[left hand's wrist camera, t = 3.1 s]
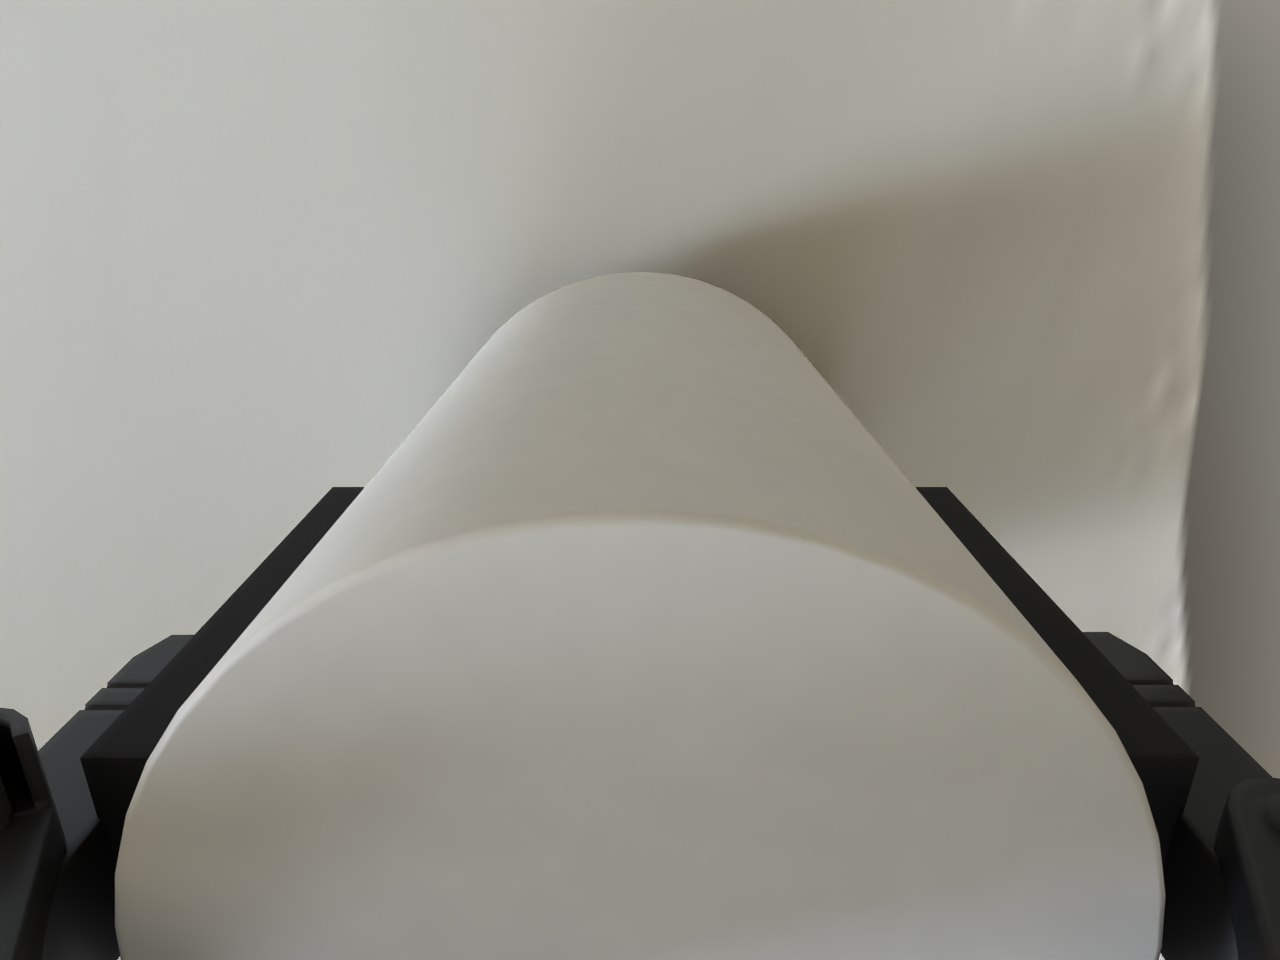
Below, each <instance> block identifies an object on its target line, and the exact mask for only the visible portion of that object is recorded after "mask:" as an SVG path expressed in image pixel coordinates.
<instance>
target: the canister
mask: <svg viewBox="0 0 1280 960" xmlns="http://www.w3.org/2000/svg"><path fill="white" fill-rule="evenodd" d="M1165 896H1166V895H1165V886H1164V877H1163V868H1162V859H1161V850H1160V842H1159V836H1158V833H1157V829H1156V826H1155V823H1154V820H1153V816H1152V813H1151V810H1150V807H1149V803H1148V800H1147V797H1146V793H1145V790H1144V787H1143V784H1142V781H1141V779H1140V777H1139V776H1138V774H1137V772H1136V770H1135V768H1134V766H1133V764H1132V762H1131V760H1130V758H1129V756H1128V754H1127V752H1126V750H1125V748H1124V746H1123V745H1122V743H1121V741H1120V739H1119V737H1118V735H1117V733H1116V731H1115V730H1114V728H1113V727H1112V726H1111V724H1110V723H1109V722H1108V720H1107V719H1106V718H1105V716H1104V715H1103V714H1102V712H1101V711H1100V710H1099V708H1098V707H1097V706H1096V705H1095V703H1094V702H1093V701H1092V699H1091V698H1090V697H1089V695H1088V694H1087V693H1086V691H1085V690H1084V689H1083V687H1082V686H1081V685H1080V683H1079V682H1078V681H1077V680H1076V678H1075V677H1074V676H1073V675H1072V674H1071V672H1070V671H1069V670H1068V669H1067V668H1066V667H1065V665H1064V664H1063V663H1062V662H1061V661H1060V659H1059V658H1058V657H1057V656H1056V655H1055V653H1054V652H1053V651H1052V650H1051V649H1050V647H1049V646H1048V645H1047V644H1046V643H1045V641H1044V640H1043V639H1042V638H1041V637H1040V636H1039V634H1038V633H1037V632H1036V631H1035V630H1034V628H1033V627H1032V626H1031V625H1030V624H1029V622H1028V621H1027V620H1026V619H1025V618H1024V616H1023V615H1022V614H1021V613H1020V612H1019V611H1018V609H1017V608H1016V607H1015V606H1014V605H1013V603H1012V602H1011V601H1010V600H1009V599H1008V597H1007V596H1006V595H1005V594H1004V593H1003V591H1002V590H1001V589H1000V588H999V587H998V585H997V584H996V583H995V582H994V581H993V580H992V578H991V577H990V576H989V575H988V574H987V572H986V571H985V570H984V569H983V568H982V566H981V565H980V564H979V563H978V562H977V560H976V559H975V558H974V557H973V556H972V555H971V553H970V552H969V551H968V550H967V549H966V547H965V546H964V545H963V544H962V543H961V541H960V540H959V539H958V538H957V537H956V535H955V534H954V533H953V532H952V531H951V529H950V528H949V527H948V526H947V525H946V524H945V522H944V521H943V520H942V519H941V518H940V516H939V515H938V514H937V513H936V512H935V510H934V509H933V508H932V507H931V506H930V504H929V503H928V502H927V501H926V500H925V499H924V497H923V496H922V495H921V494H920V493H919V491H918V490H917V489H916V488H915V487H914V485H913V484H912V483H911V482H910V481H909V479H908V478H907V477H906V476H905V475H904V473H903V472H902V471H901V470H900V469H899V468H898V466H897V465H896V464H895V463H894V462H893V460H892V459H891V458H890V457H889V456H888V454H887V453H886V452H885V451H884V450H883V448H882V447H881V446H880V445H879V444H878V442H877V441H876V440H875V439H874V438H873V437H872V435H871V434H870V433H869V432H868V431H867V429H866V428H865V427H864V426H863V425H862V423H861V422H860V421H859V420H858V419H857V417H856V416H855V415H854V414H853V413H852V412H851V410H850V409H849V408H848V407H847V406H846V404H845V403H844V402H843V401H842V400H841V398H840V397H839V396H838V395H837V394H836V392H835V391H834V390H833V389H832V388H831V386H830V385H829V384H828V383H827V382H826V381H825V379H824V378H823V377H822V376H821V375H820V373H819V372H818V371H817V370H816V369H815V367H814V366H813V365H812V364H811V363H810V361H809V360H808V359H807V358H806V357H805V356H804V354H803V353H802V352H801V351H800V350H799V348H798V347H797V346H796V345H795V344H794V342H793V341H792V340H791V339H790V338H789V337H788V336H787V335H786V334H785V333H784V332H783V331H782V330H781V329H780V328H779V327H778V326H777V325H776V324H775V323H774V322H773V321H772V320H771V319H770V318H769V317H767V316H766V315H765V314H763V313H762V312H761V311H759V310H758V309H756V308H755V307H754V306H752V305H751V304H750V303H748V302H746V301H745V300H743V299H741V298H739V297H737V296H735V295H734V294H732V293H730V292H728V291H726V290H724V289H721V288H719V287H716V286H713V285H711V284H708V283H706V282H703V281H700V280H696V279H692V278H688V277H683V276H679V275H675V274H667V273H657V272H646V271H644V272H619V273H612V274H607V275H601V276H595V277H590V278H587V279H584V280H581V281H578V282H574V283H571V284H568V285H565V286H563V287H561V288H559V289H556V290H554V291H552V292H550V293H548V294H546V295H544V296H542V297H540V298H538V299H537V300H535V301H534V302H532V303H531V304H529V305H528V306H526V307H525V308H523V309H521V310H520V311H518V312H517V313H516V314H515V315H514V316H513V317H511V318H510V319H509V320H508V321H507V322H506V323H505V324H503V325H502V326H501V327H500V328H499V329H498V330H497V331H496V332H495V333H494V334H493V336H492V337H491V338H490V339H489V340H488V341H487V342H486V344H485V345H484V346H483V347H482V348H481V349H480V351H479V352H478V353H477V354H476V355H475V357H474V358H473V359H472V360H471V361H470V363H469V364H468V365H467V366H466V367H465V368H464V370H463V371H462V372H461V373H460V374H459V376H458V377H457V378H456V379H455V380H454V382H453V383H452V384H451V385H450V386H449V388H448V389H447V390H446V391H445V392H444V394H443V395H442V396H441V397H440V398H439V400H438V401H437V402H436V403H435V404H434V405H433V407H432V408H431V409H430V410H429V411H428V413H427V414H426V415H425V416H424V417H423V419H422V420H421V421H420V422H419V423H418V425H417V426H416V427H415V428H414V429H413V431H412V432H411V433H410V434H409V435H408V436H407V438H406V439H405V440H404V441H403V442H402V444H401V445H400V446H399V447H398V448H397V450H396V451H395V452H394V453H393V454H392V456H391V457H390V458H389V459H388V460H387V462H386V463H385V464H384V465H383V466H382V467H381V469H380V470H379V471H378V472H377V473H376V475H375V476H374V477H373V478H372V479H371V481H370V482H369V483H368V484H367V485H366V487H365V488H364V489H363V490H362V491H361V493H360V494H359V495H358V496H357V497H356V498H355V500H354V501H353V502H352V503H351V504H350V506H349V507H348V508H347V509H346V510H345V512H344V513H343V514H342V515H341V516H340V518H339V519H338V520H337V521H336V522H335V524H334V525H333V526H332V527H331V528H330V529H329V531H328V532H327V533H326V534H325V535H324V537H323V538H322V539H321V540H320V541H319V543H318V544H317V545H316V546H315V547H314V549H313V550H312V551H311V552H310V553H309V555H308V556H307V557H306V558H305V559H304V560H303V562H302V563H301V564H300V565H299V566H298V568H297V569H296V570H295V571H294V572H293V574H292V575H291V576H290V577H289V578H288V580H287V581H286V582H285V583H284V584H283V586H282V587H281V588H280V589H279V590H278V591H277V593H276V594H275V595H274V596H273V597H272V599H271V600H270V601H269V602H268V603H267V605H266V606H265V607H264V608H263V609H262V611H261V612H260V613H259V614H258V615H257V617H256V618H255V619H254V620H253V621H252V622H251V624H250V625H249V626H248V627H247V628H246V630H245V631H244V632H243V633H242V634H241V636H240V637H239V638H238V639H237V640H236V642H235V643H234V644H233V645H232V646H231V648H230V649H229V650H228V651H227V652H226V653H225V655H224V656H223V657H222V658H221V659H220V661H219V662H218V663H217V664H216V665H215V667H214V668H213V669H212V670H211V671H210V673H209V674H208V675H207V676H206V677H205V679H204V680H203V681H202V682H201V683H200V684H199V686H198V687H197V688H196V689H195V690H194V692H193V693H192V694H191V695H190V696H189V698H188V699H187V700H186V701H185V702H184V704H183V705H182V706H181V707H180V708H179V710H178V711H177V713H176V714H175V716H174V717H173V719H172V721H171V722H170V724H169V726H168V727H167V729H166V731H165V732H164V734H163V736H162V737H161V739H160V740H159V742H158V744H157V745H156V747H155V749H154V750H153V752H152V754H151V755H150V757H149V759H148V760H147V762H146V764H145V767H144V770H143V772H142V775H141V777H140V780H139V782H138V785H137V788H136V790H135V793H134V795H133V798H132V801H131V803H130V806H129V808H128V811H127V814H126V818H125V823H124V828H123V834H122V839H121V844H120V850H119V855H118V860H117V866H116V871H115V930H116V935H117V941H118V946H119V952H120V957H121V960H1159V956H1160V952H1161V948H1162V937H1163V924H1164V910H1165Z"/></svg>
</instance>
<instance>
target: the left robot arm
mask: <svg viewBox="0 0 1280 960" xmlns="http://www.w3.org/2000/svg"><path fill="white" fill-rule="evenodd" d="M364 488H365V487H332V489H331V490H330V491H329V492H328V493H327V494H326V495H325V496H324V497H323V498H322V499H321V500H320V501H319V502H318V504H317V505H316V506H315V507H314V508H313V509H312V510H311V511H310V512H309V513H308V514H307V515H306V516H305V517H304V519H303V520H302V521H301V522H300V523H299V524H298V525H297V526H296V527H295V528H294V529H293V530H292V531H291V532H290V533H289V535H288V536H287V537H286V538H285V539H284V540H283V541H282V542H281V543H280V544H279V545H278V546H277V547H276V548H275V550H274V551H273V552H272V553H271V554H270V555H269V556H268V557H267V558H266V559H265V560H264V561H263V562H262V563H261V565H260V566H259V567H258V568H257V569H256V570H255V571H254V572H253V573H252V574H251V575H250V576H249V577H248V578H247V580H246V581H245V582H244V583H243V584H242V585H241V586H240V587H239V588H238V589H237V590H236V591H235V592H234V593H233V594H232V596H231V597H230V598H229V599H228V600H227V601H226V602H225V603H224V604H223V605H222V606H221V607H220V608H219V609H218V611H217V612H216V613H215V614H214V615H213V616H212V617H211V618H210V619H209V620H208V621H207V622H206V623H205V624H204V626H203V627H202V628H201V629H200V630H199V631H198V632H197V633H196V634H195V635H171V636H169V637H168V638H166V639H164V640H162V641H161V642H159V643H157V644H155V645H154V646H152V647H150V648H149V649H147V650H145V651H143V652H142V653H140V654H138V655H136V656H135V657H133V658H132V659H131V660H130V661H129V662H128V663H127V664H126V665H125V666H124V667H123V668H122V669H121V670H120V671H119V672H118V673H117V674H116V675H115V676H114V677H113V678H112V679H111V680H110V681H109V682H108V683H107V688H102V689H101V690H100V691H99V692H98V693H97V694H96V695H95V696H94V697H93V698H92V699H91V700H90V701H89V702H88V703H87V704H86V705H85V706H86V707H85V710H79V711H78V712H77V713H76V714H75V715H74V716H73V717H72V718H71V719H70V720H69V721H68V722H67V723H66V724H65V725H64V726H63V727H62V728H61V729H60V730H59V731H58V732H57V733H56V734H55V735H54V736H53V737H52V738H51V739H50V740H49V741H48V742H47V743H46V744H45V745H44V746H43V747H42V748H41V749H40V750H39V751H38V750H37V747H36V744H35V740H34V737H33V734H32V731H31V728H30V725H29V722H28V718H26V717H25V716H23V715H22V714H20V713H18V712H17V711H15V710H14V709H6V708H0V960H117V959H118V958H119V956H120V952H119V946H118V941H117V935H116V930H115V871H116V866H117V860H118V855H119V850H120V844H121V839H122V834H123V828H124V823H125V818H126V814H127V811H128V808H129V806H130V803H131V801H132V798H133V795H134V793H135V790H136V788H137V785H138V782H139V780H140V777H141V775H142V772H143V770H144V767H145V764H146V762H147V760H148V759H149V757H150V755H151V754H152V752H153V750H154V749H155V747H156V745H157V744H158V742H159V740H160V739H161V737H162V736H163V734H164V732H165V731H166V729H167V727H168V726H169V724H170V722H171V721H172V719H173V717H174V716H175V714H176V713H177V711H178V710H179V708H180V707H181V706H182V705H183V704H184V702H185V701H186V700H187V699H188V698H189V696H190V695H191V694H192V693H193V692H194V690H195V689H196V688H197V687H198V686H199V684H200V683H201V682H202V681H203V680H204V679H205V677H206V676H207V675H208V674H209V673H210V671H211V670H212V669H213V668H214V667H215V665H216V664H217V663H218V662H219V661H220V659H221V658H222V657H223V656H224V655H225V653H226V652H227V651H228V650H229V649H230V648H231V646H232V645H233V644H234V643H235V642H236V640H237V639H238V638H239V637H240V636H241V634H242V633H243V632H244V631H245V630H246V628H247V627H248V626H249V625H250V624H251V622H252V621H253V620H254V619H255V618H256V617H257V615H258V614H259V613H260V612H261V611H262V609H263V608H264V607H265V606H266V605H267V603H268V602H269V601H270V600H271V599H272V597H273V596H274V595H275V594H276V593H277V591H278V590H279V589H280V588H281V587H282V586H283V584H284V583H285V582H286V581H287V580H288V578H289V577H290V576H291V575H292V574H293V572H294V571H295V570H296V569H297V568H298V566H299V565H300V564H301V563H302V562H303V560H304V559H305V558H306V557H307V556H308V555H309V553H310V552H311V551H312V550H313V549H314V547H315V546H316V545H317V544H318V543H319V541H320V540H321V539H322V538H323V537H324V535H325V534H326V533H327V532H328V531H329V529H330V528H331V527H332V526H333V525H334V524H335V522H336V521H337V520H338V519H339V518H340V516H341V515H342V514H343V513H344V512H345V510H346V509H347V508H348V507H349V506H350V504H351V503H352V502H353V501H354V500H355V498H356V497H357V496H358V495H359V494H360V493H361V491H362V490H363V489H364ZM915 488H916V489H917V490H918V491H919V493H920V494H921V495H922V496H923V497H924V499H925V500H926V501H927V502H928V503H929V504H930V506H931V507H932V508H933V509H934V510H935V512H936V513H937V514H938V515H939V516H940V518H941V519H942V520H943V521H944V522H945V524H946V525H947V526H948V527H949V528H950V529H951V531H952V532H953V533H954V534H955V535H956V537H957V538H958V539H959V540H960V541H961V543H962V544H963V545H964V546H965V547H966V549H967V550H968V551H969V552H970V553H971V555H972V556H973V557H974V558H975V559H976V560H977V562H978V563H979V564H980V565H981V566H982V568H983V569H984V570H985V571H986V572H987V574H988V575H989V576H990V577H991V578H992V580H993V581H994V582H995V583H996V584H997V585H998V587H999V588H1000V589H1001V590H1002V591H1003V593H1004V594H1005V595H1006V596H1007V597H1008V599H1009V600H1010V601H1011V602H1012V603H1013V605H1014V606H1015V607H1016V608H1017V609H1018V611H1019V612H1020V613H1021V614H1022V615H1023V616H1024V618H1025V619H1026V620H1027V621H1028V622H1029V624H1030V625H1031V626H1032V627H1033V628H1034V630H1035V631H1036V632H1037V633H1038V634H1039V636H1040V637H1041V638H1042V639H1043V640H1044V641H1045V643H1046V644H1047V645H1048V646H1049V647H1050V649H1051V650H1052V651H1053V652H1054V653H1055V655H1056V656H1057V657H1058V658H1059V659H1060V661H1061V662H1062V663H1063V664H1064V665H1065V667H1066V668H1067V669H1068V670H1069V671H1070V672H1071V674H1072V675H1073V676H1074V677H1075V678H1076V680H1077V681H1078V682H1079V683H1080V685H1081V686H1082V687H1083V689H1084V690H1085V691H1086V693H1087V694H1088V695H1089V697H1090V698H1091V699H1092V701H1093V702H1094V703H1095V705H1096V706H1097V707H1098V708H1099V710H1100V711H1101V712H1102V714H1103V715H1104V716H1105V718H1106V719H1107V720H1108V722H1109V723H1110V724H1111V726H1112V727H1113V728H1114V730H1115V731H1116V733H1117V735H1118V737H1119V739H1120V741H1121V743H1122V745H1123V746H1124V748H1125V750H1126V752H1127V754H1128V756H1129V758H1130V760H1131V762H1132V764H1133V766H1134V768H1135V770H1136V772H1137V774H1138V776H1139V777H1140V779H1141V781H1142V784H1143V787H1144V790H1145V793H1146V797H1147V800H1148V803H1149V807H1150V810H1151V813H1152V816H1153V820H1154V823H1155V826H1156V829H1157V833H1158V836H1159V842H1160V850H1161V859H1162V868H1163V877H1164V886H1165V895H1166V896H1165V910H1164V924H1163V937H1162V948H1161V954H1162V955H1163V957H1164V958H1165V960H1280V779H1277V778H1273V777H1271V776H1270V775H1269V774H1268V773H1267V772H1266V771H1265V770H1264V769H1263V768H1262V767H1261V766H1260V765H1259V764H1258V763H1257V762H1256V761H1255V760H1254V759H1253V758H1252V757H1251V756H1250V755H1249V754H1248V753H1247V752H1246V751H1245V750H1244V749H1243V748H1242V747H1241V746H1240V745H1239V744H1238V743H1237V742H1236V741H1235V740H1234V739H1233V738H1232V737H1231V736H1230V735H1229V734H1227V733H1226V732H1225V731H1224V730H1223V729H1222V728H1221V727H1220V726H1219V725H1218V724H1217V723H1216V722H1215V721H1214V720H1213V719H1212V718H1211V717H1210V716H1209V715H1208V714H1207V713H1206V712H1205V711H1204V710H1203V709H1202V708H1201V707H1195V701H1194V700H1193V699H1192V698H1191V697H1190V696H1189V695H1188V694H1187V693H1186V692H1185V691H1184V690H1183V689H1181V688H1180V687H1179V686H1178V685H1173V680H1172V679H1171V678H1170V677H1169V676H1168V675H1167V674H1166V673H1165V672H1164V671H1163V670H1162V669H1161V668H1160V667H1159V666H1158V665H1157V664H1156V663H1155V662H1154V661H1153V660H1152V659H1151V658H1150V657H1149V656H1148V655H1147V654H1145V653H1143V652H1142V651H1140V650H1138V649H1137V648H1135V647H1133V646H1131V645H1130V644H1128V643H1126V642H1124V641H1123V640H1121V639H1119V638H1117V637H1116V636H1114V635H1112V634H1110V633H1109V632H1081V630H1080V629H1079V628H1078V627H1077V626H1076V625H1075V624H1074V623H1073V622H1072V621H1071V620H1070V619H1069V618H1068V617H1067V615H1066V614H1065V613H1064V612H1063V611H1062V610H1061V609H1060V608H1059V607H1058V606H1057V605H1056V604H1055V603H1054V602H1053V600H1052V599H1051V598H1050V597H1049V596H1048V595H1047V594H1046V593H1045V592H1044V591H1043V590H1042V589H1041V588H1040V587H1039V585H1038V584H1037V583H1036V582H1035V581H1034V580H1033V579H1032V578H1031V577H1030V576H1029V575H1028V574H1027V573H1026V572H1025V570H1024V569H1023V568H1022V567H1021V566H1020V565H1019V564H1018V563H1017V562H1016V561H1015V560H1014V559H1013V558H1012V557H1011V556H1010V554H1009V553H1008V552H1007V551H1006V550H1005V549H1004V548H1003V547H1002V546H1001V545H1000V544H999V543H998V542H997V541H996V539H995V538H994V537H993V536H992V535H991V534H990V533H989V532H988V531H987V530H986V529H985V528H984V527H983V526H982V524H981V523H980V522H979V521H978V520H977V519H976V518H975V517H974V516H973V515H972V514H971V513H970V512H969V511H968V509H967V508H966V507H965V506H964V505H963V504H962V503H961V502H960V501H959V500H958V499H957V498H956V497H955V496H954V494H953V493H952V492H951V491H950V490H949V489H948V488H947V487H915Z"/></svg>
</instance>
